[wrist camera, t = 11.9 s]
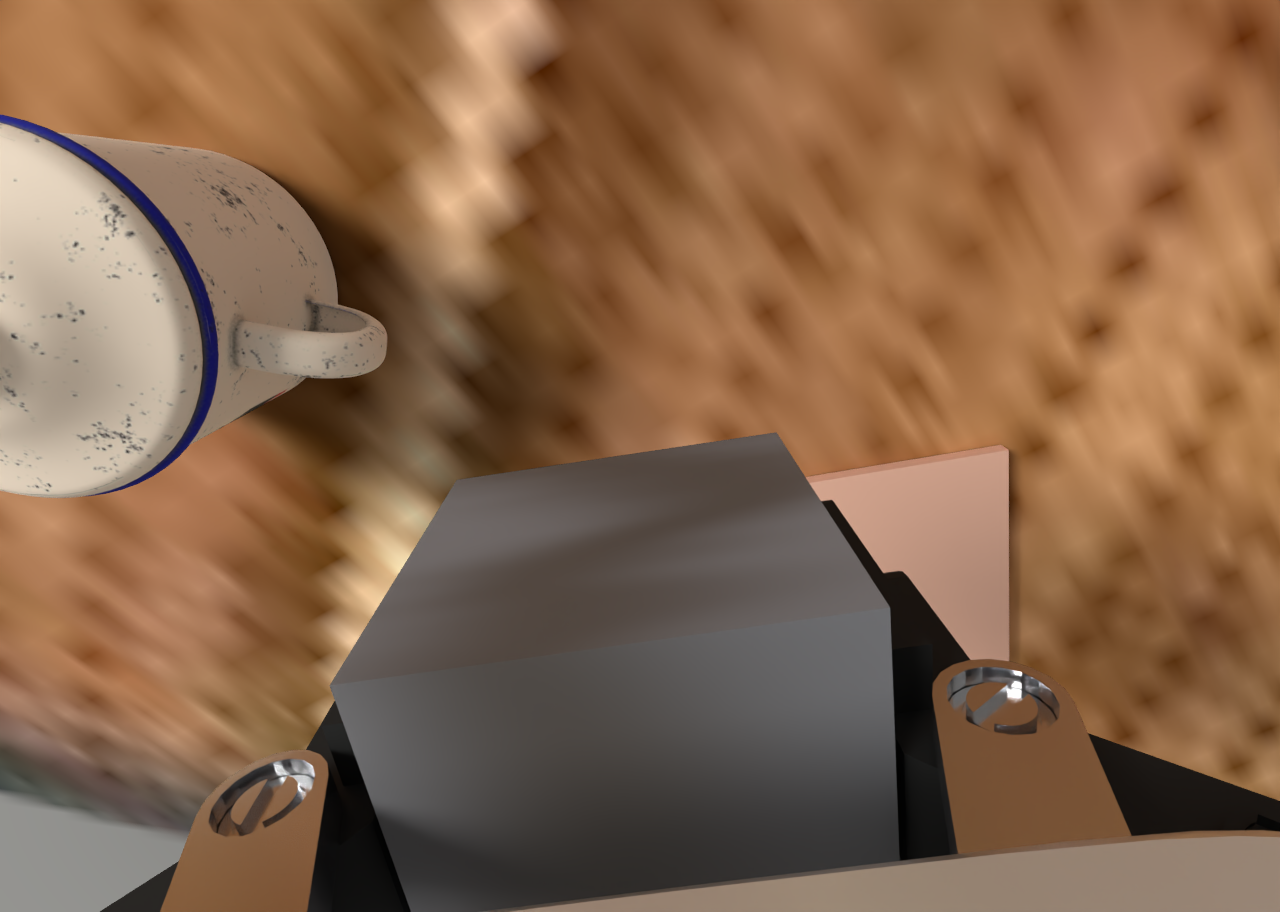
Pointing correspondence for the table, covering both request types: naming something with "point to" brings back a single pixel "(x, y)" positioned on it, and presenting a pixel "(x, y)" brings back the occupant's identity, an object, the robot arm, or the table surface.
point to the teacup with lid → (150, 306)
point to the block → (626, 684)
